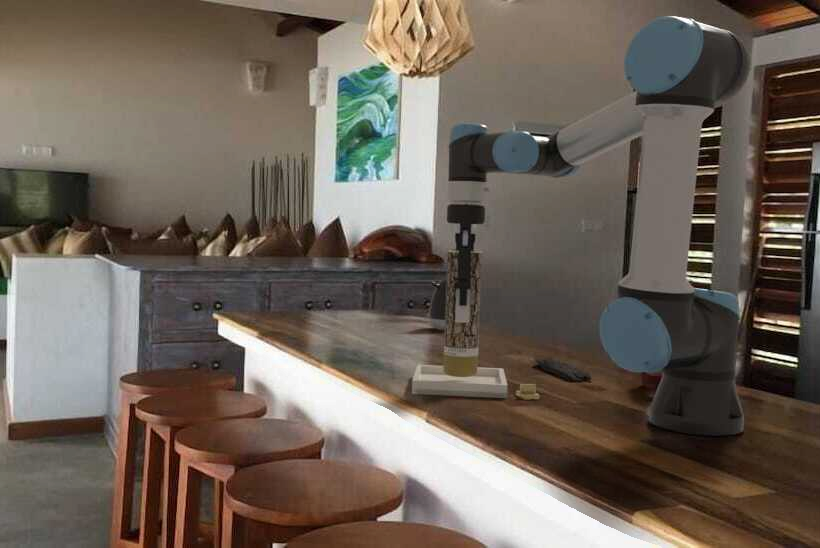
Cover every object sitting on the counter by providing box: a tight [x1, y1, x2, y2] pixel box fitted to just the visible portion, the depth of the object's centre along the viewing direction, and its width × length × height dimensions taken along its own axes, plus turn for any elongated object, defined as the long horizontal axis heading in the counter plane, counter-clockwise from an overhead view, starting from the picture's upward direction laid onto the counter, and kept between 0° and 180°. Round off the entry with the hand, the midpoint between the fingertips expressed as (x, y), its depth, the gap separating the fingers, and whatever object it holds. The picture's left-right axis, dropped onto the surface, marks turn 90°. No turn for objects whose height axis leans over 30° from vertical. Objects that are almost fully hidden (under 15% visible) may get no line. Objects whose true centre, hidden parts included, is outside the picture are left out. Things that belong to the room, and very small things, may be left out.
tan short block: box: [515, 383, 540, 401], centre depth 163 cm, size 4×3×3 cm
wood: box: [534, 356, 592, 384], centre depth 191 cm, size 22×7×3 cm, turn 16°
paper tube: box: [443, 248, 483, 377], centre depth 170 cm, size 7×7×25 cm
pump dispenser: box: [428, 278, 446, 332], centre depth 258 cm, size 10×10×15 cm
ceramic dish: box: [411, 364, 508, 399], centre depth 171 cm, size 18×18×2 cm
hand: (462, 319), depth 170 cm, fingers closed on paper tube, 7 cm apart
